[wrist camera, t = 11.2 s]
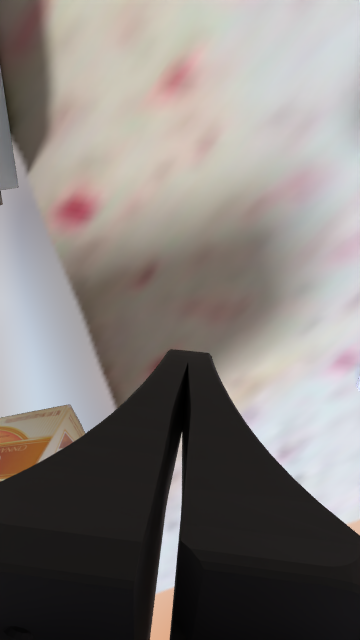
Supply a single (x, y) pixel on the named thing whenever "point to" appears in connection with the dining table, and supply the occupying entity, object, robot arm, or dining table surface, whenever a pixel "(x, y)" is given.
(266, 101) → the dining table surface
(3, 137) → the grey square frame
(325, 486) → the dining table surface
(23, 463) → the coffeecake box
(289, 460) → the dining table surface
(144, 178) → the dining table surface
